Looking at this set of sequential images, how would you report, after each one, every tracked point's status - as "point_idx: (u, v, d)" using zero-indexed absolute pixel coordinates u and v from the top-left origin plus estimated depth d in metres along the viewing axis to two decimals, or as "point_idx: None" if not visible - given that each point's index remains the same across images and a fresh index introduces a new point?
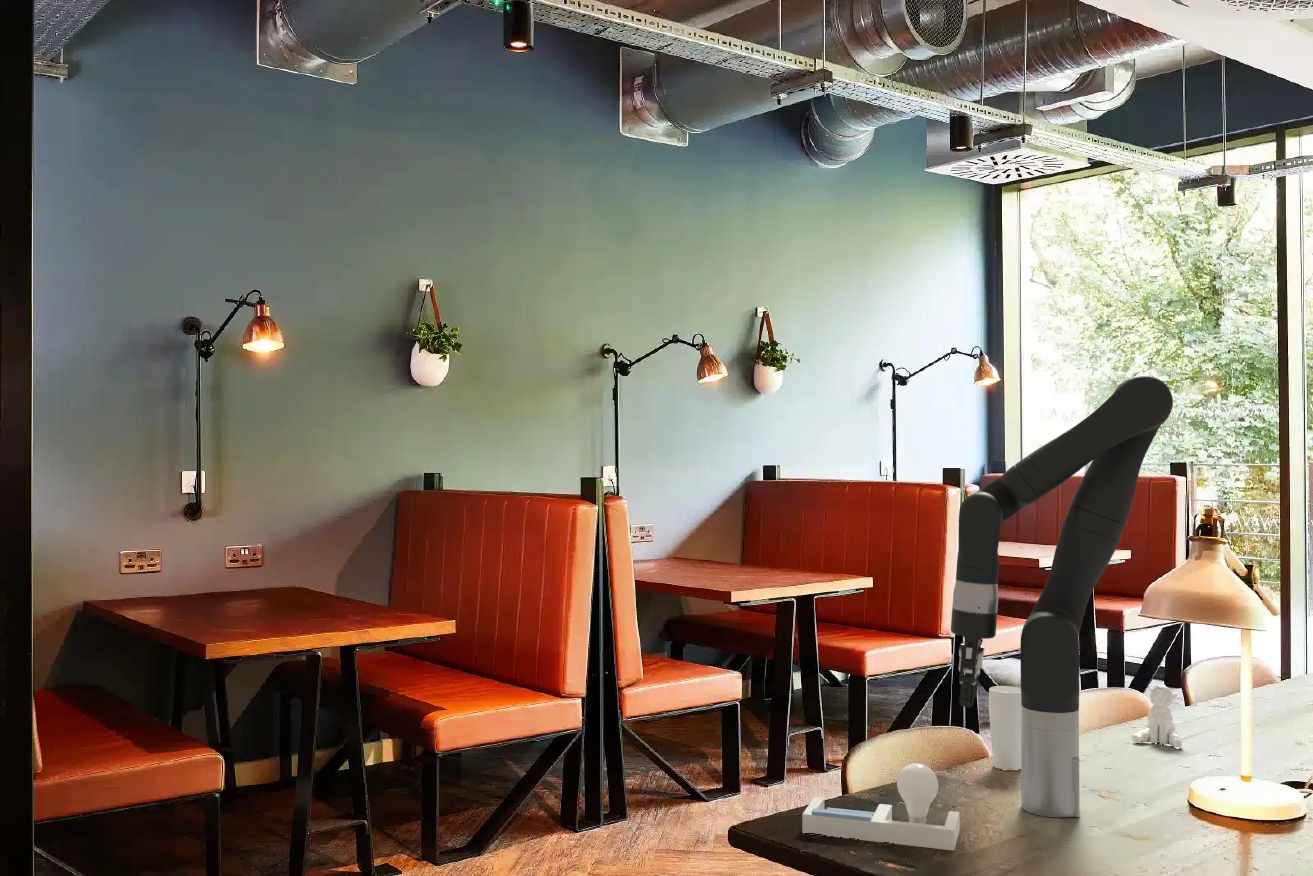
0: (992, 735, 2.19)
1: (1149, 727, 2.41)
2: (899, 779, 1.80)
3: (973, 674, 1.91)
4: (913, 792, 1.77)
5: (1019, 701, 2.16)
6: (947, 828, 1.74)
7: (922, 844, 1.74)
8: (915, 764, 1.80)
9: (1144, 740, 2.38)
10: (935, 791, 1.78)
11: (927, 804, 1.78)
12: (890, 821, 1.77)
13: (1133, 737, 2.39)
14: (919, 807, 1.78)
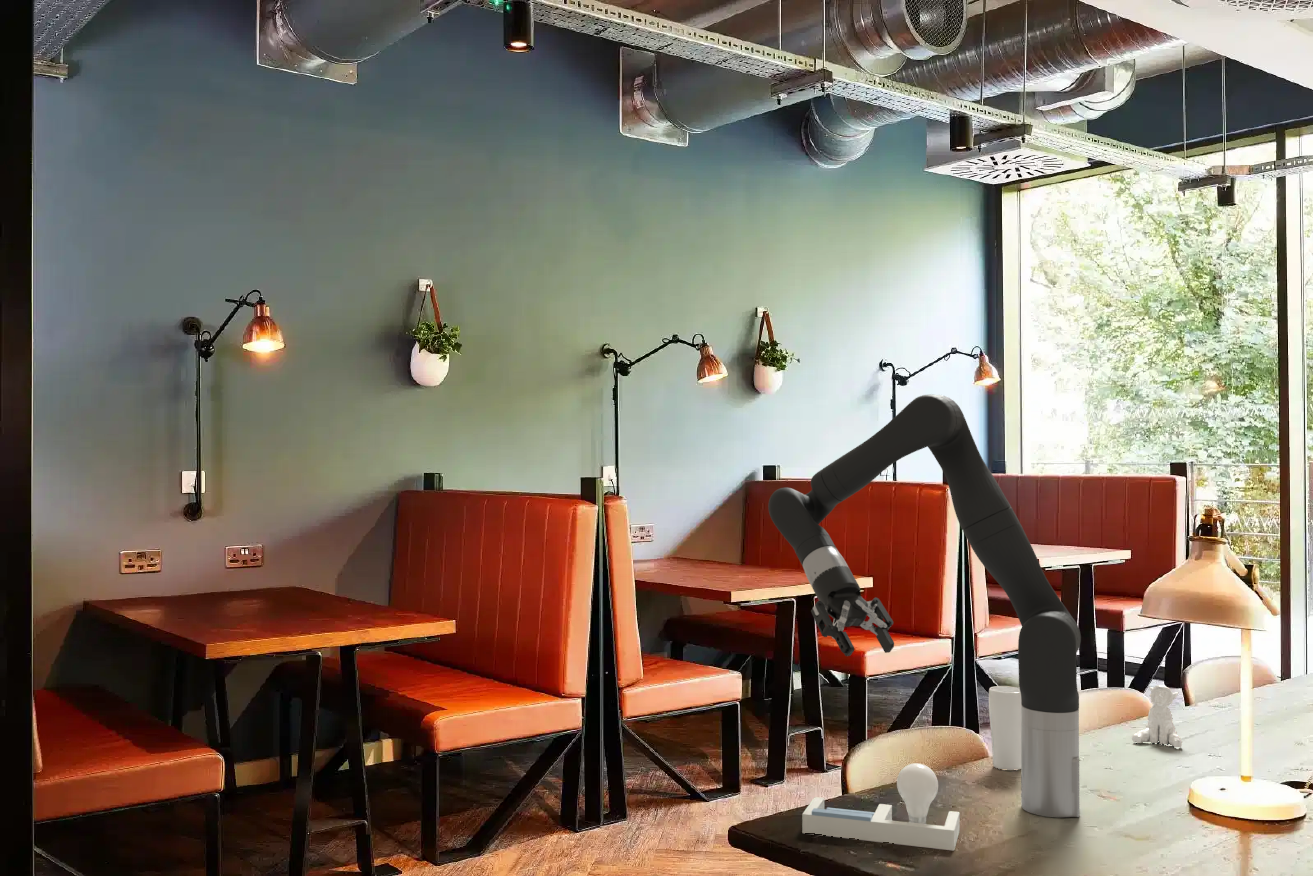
0: (992, 735, 2.19)
1: (1149, 727, 2.41)
2: (899, 779, 1.80)
3: (824, 622, 1.96)
4: (913, 792, 1.77)
5: (1019, 701, 2.16)
6: (947, 828, 1.74)
7: (922, 844, 1.74)
8: (915, 764, 1.80)
9: (1144, 740, 2.38)
10: (935, 791, 1.78)
11: (927, 804, 1.78)
12: (890, 821, 1.77)
13: (1133, 737, 2.39)
14: (919, 807, 1.78)
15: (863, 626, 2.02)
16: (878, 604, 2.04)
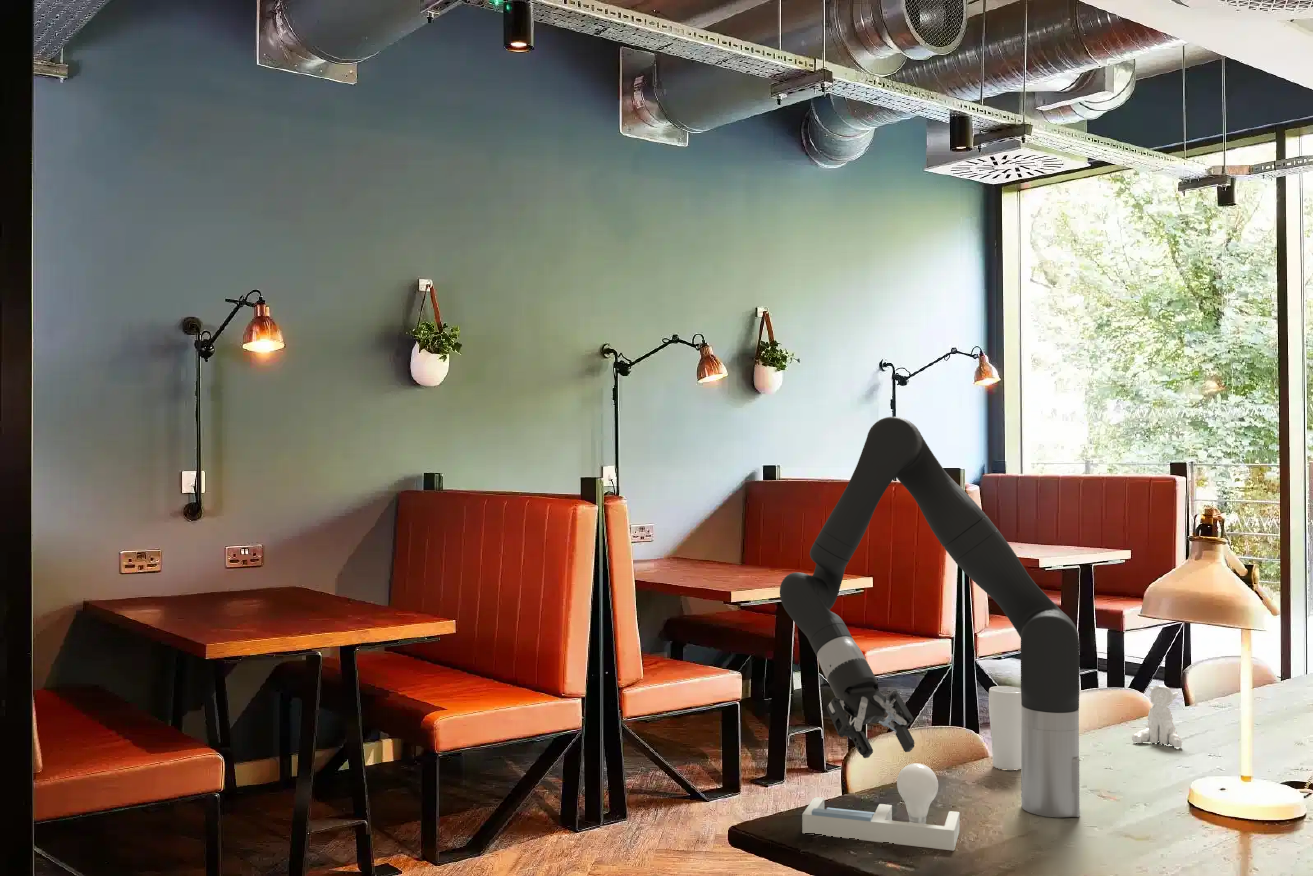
0: (992, 735, 2.19)
1: (1149, 727, 2.41)
2: (899, 779, 1.80)
3: (841, 721, 1.86)
4: (913, 792, 1.77)
5: (1019, 701, 2.16)
6: (947, 828, 1.74)
7: (922, 844, 1.74)
8: (915, 764, 1.80)
9: (1144, 740, 2.38)
10: (935, 791, 1.78)
11: (927, 804, 1.78)
12: (890, 821, 1.77)
13: (1133, 737, 2.39)
14: (919, 807, 1.78)
15: (881, 723, 1.92)
16: (897, 698, 1.94)
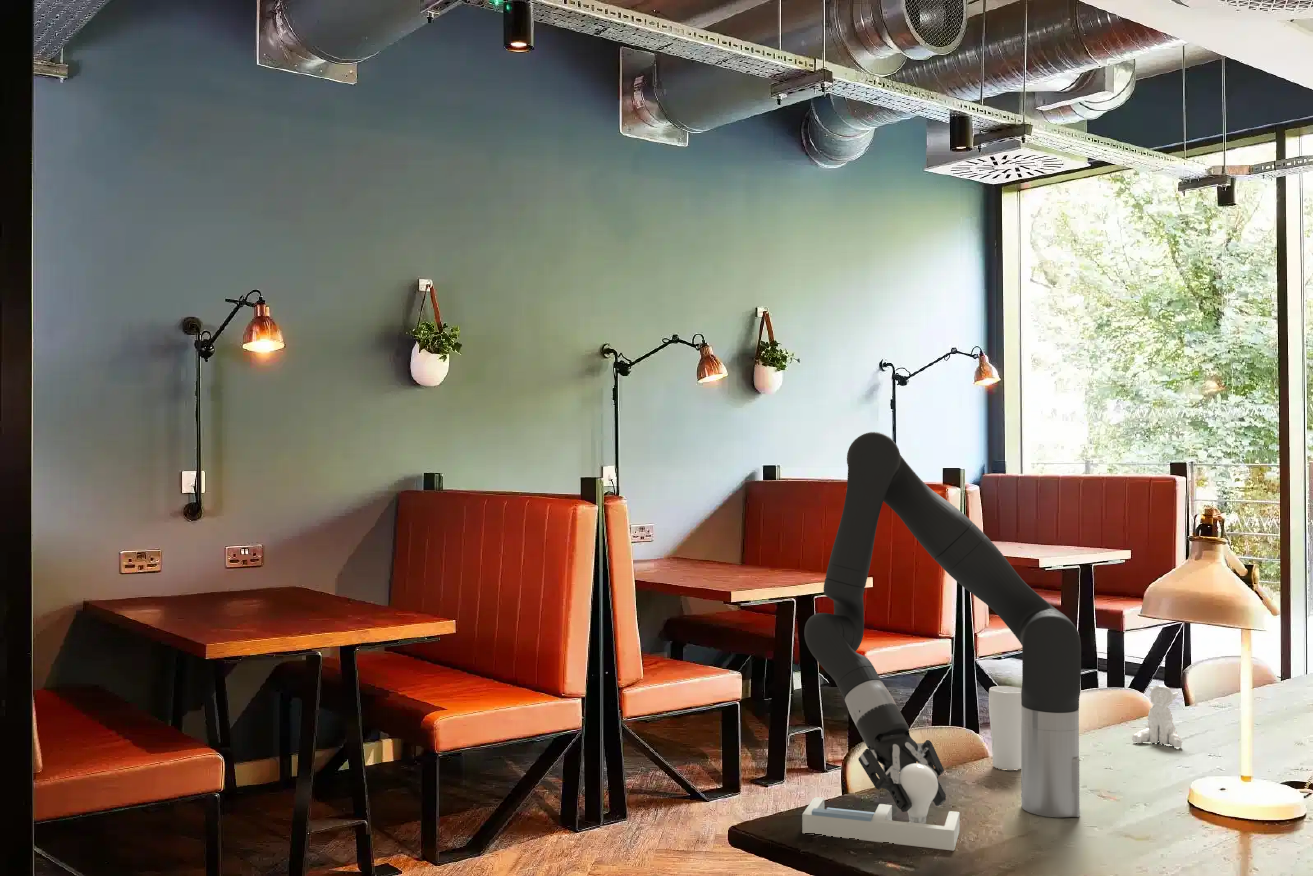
0: (992, 735, 2.19)
1: (1149, 727, 2.41)
2: (899, 779, 1.80)
3: (878, 774, 1.79)
4: (913, 792, 1.77)
5: (1019, 701, 2.16)
6: (947, 828, 1.74)
7: (922, 844, 1.74)
8: (915, 764, 1.80)
9: (1144, 740, 2.38)
10: (935, 791, 1.78)
11: (927, 804, 1.78)
12: (890, 821, 1.77)
13: (1133, 737, 2.39)
14: (919, 807, 1.78)
15: None
16: (929, 748, 1.86)
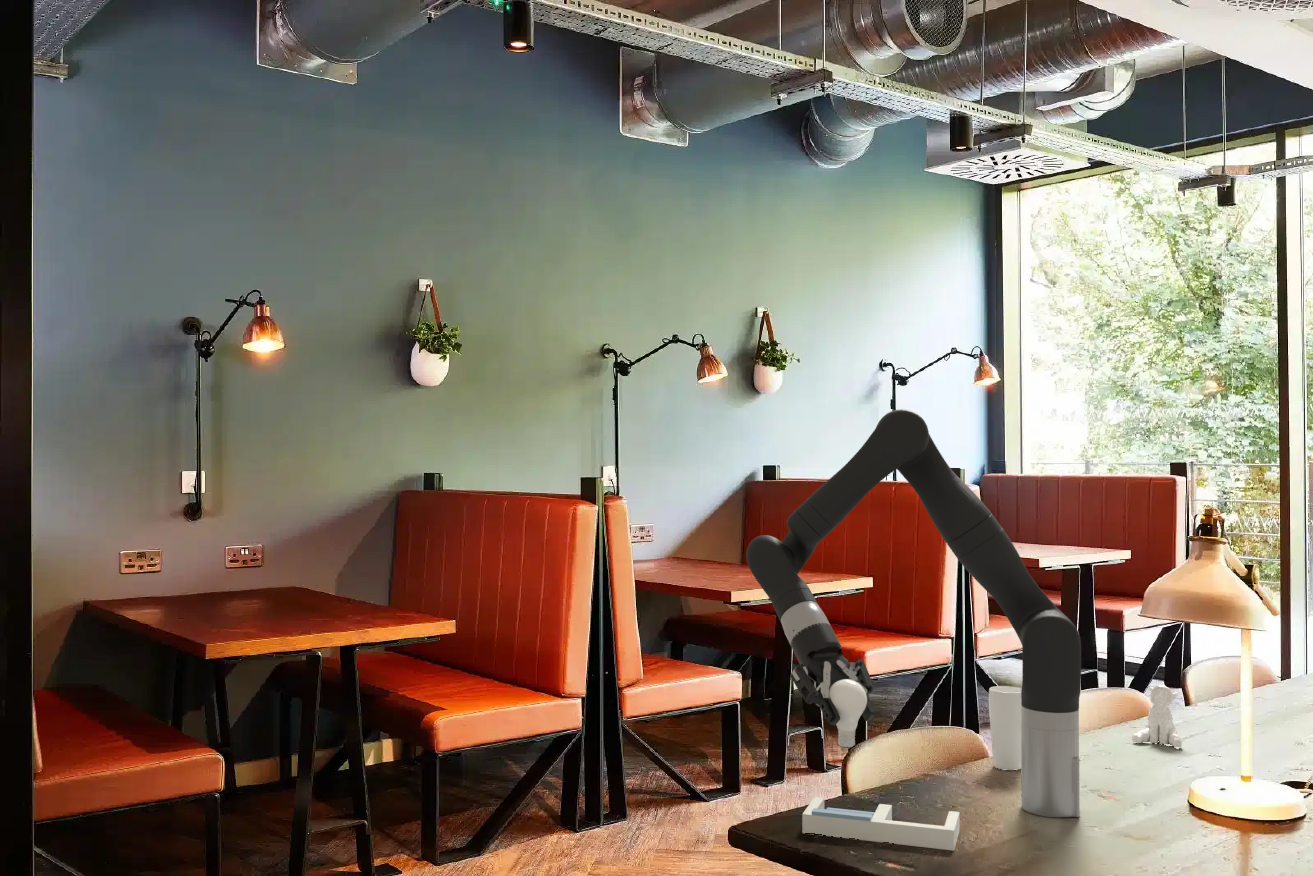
0: (992, 735, 2.19)
1: (1149, 727, 2.41)
2: (829, 694, 1.84)
3: (808, 688, 1.83)
4: (841, 706, 1.81)
5: (1019, 701, 2.16)
6: (947, 828, 1.74)
7: (922, 844, 1.74)
8: (845, 680, 1.84)
9: (1144, 740, 2.38)
10: (863, 705, 1.82)
11: (855, 718, 1.82)
12: (890, 821, 1.77)
13: (1133, 737, 2.39)
14: (848, 721, 1.82)
15: None
16: (861, 666, 1.90)
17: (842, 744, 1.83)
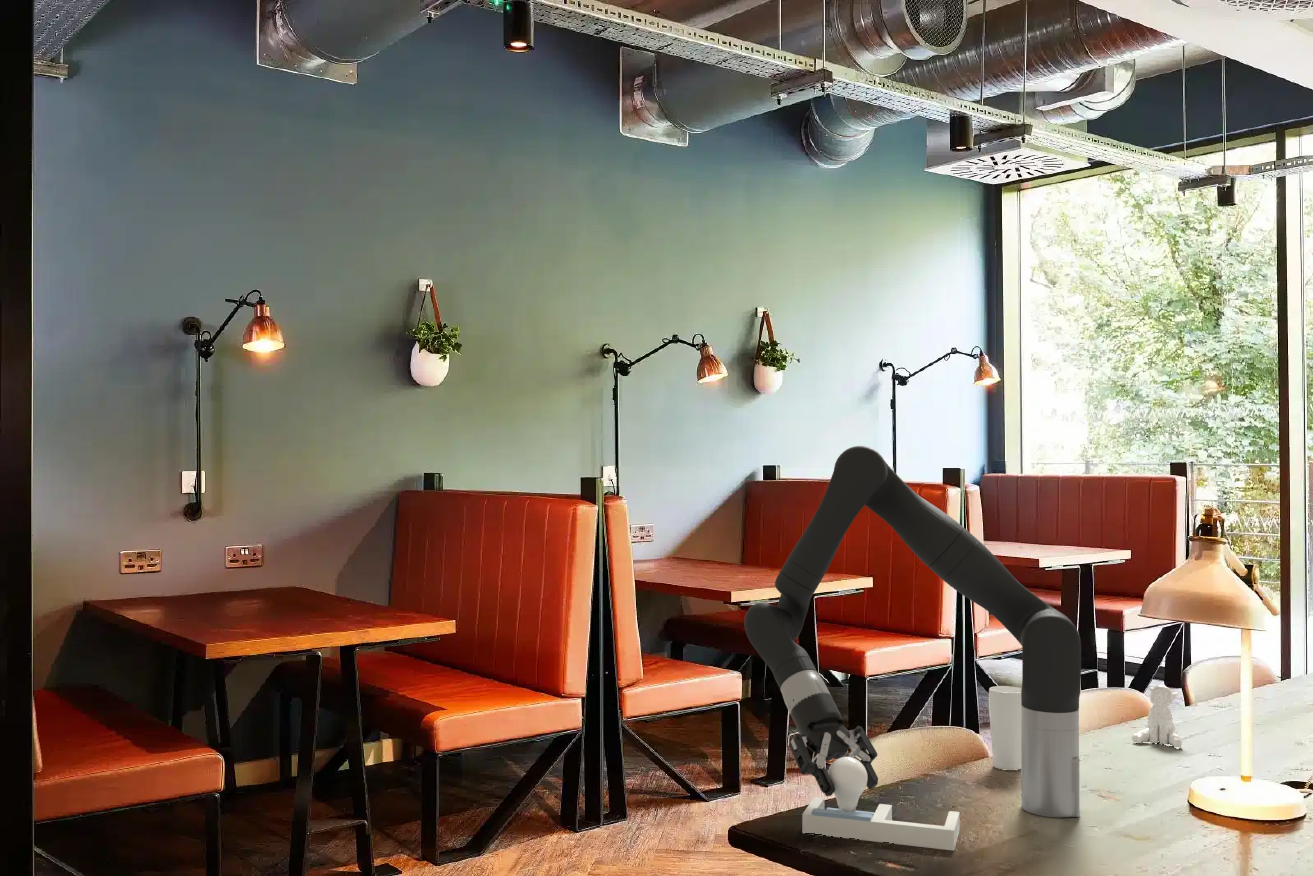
0: (992, 735, 2.19)
1: (1149, 727, 2.41)
2: (829, 772, 1.83)
3: (803, 758, 1.83)
4: (842, 785, 1.81)
5: (1019, 701, 2.16)
6: (947, 828, 1.74)
7: (922, 844, 1.74)
8: (845, 758, 1.84)
9: (1144, 740, 2.38)
10: (864, 784, 1.82)
11: (856, 797, 1.82)
12: (890, 821, 1.77)
13: (1133, 737, 2.39)
14: (848, 800, 1.82)
15: None
16: (861, 734, 1.90)
17: None
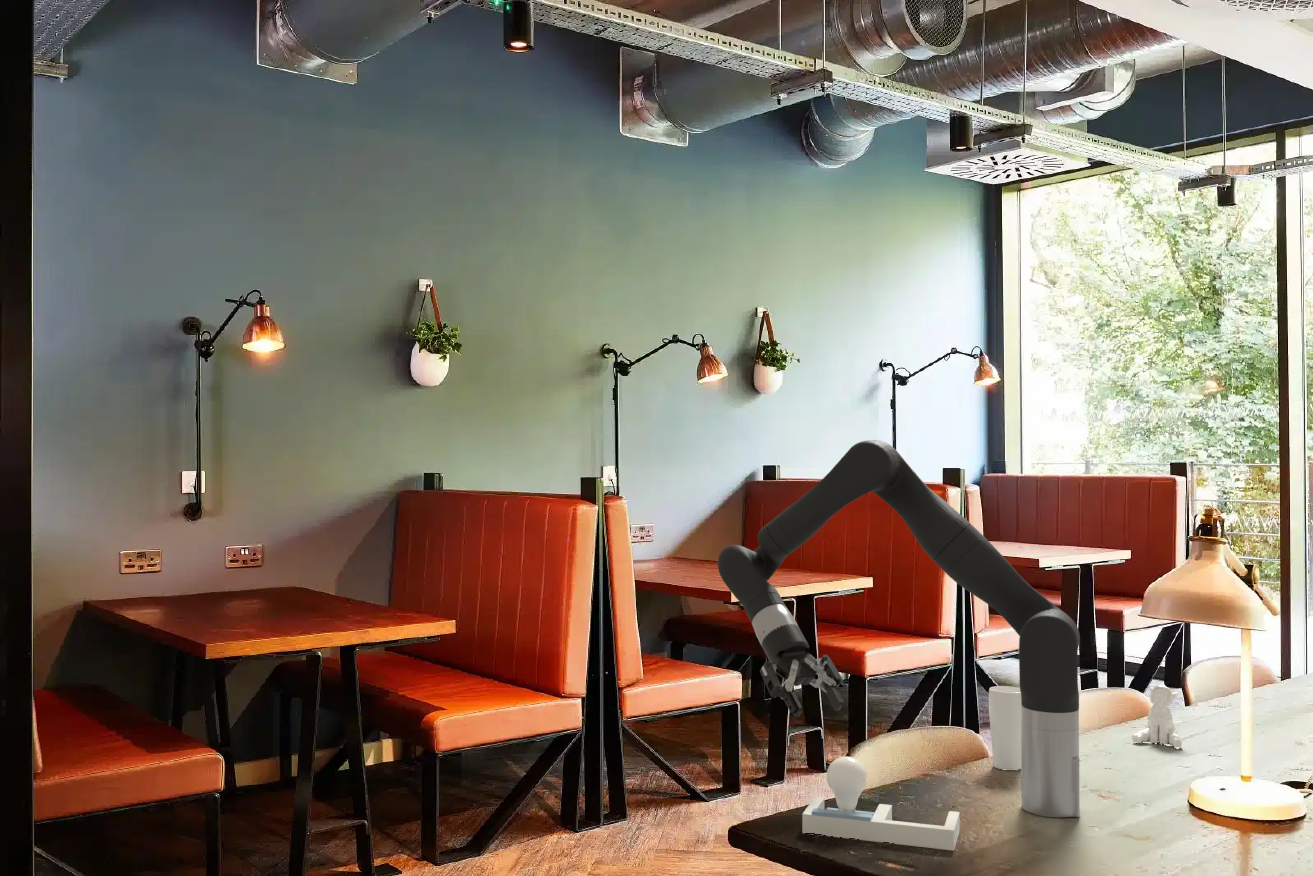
0: (992, 735, 2.19)
1: (1149, 727, 2.41)
2: (828, 772, 1.84)
3: (773, 682, 1.96)
4: (841, 784, 1.81)
5: (1019, 701, 2.16)
6: (947, 828, 1.74)
7: (922, 844, 1.74)
8: (844, 757, 1.84)
9: (1144, 740, 2.38)
10: (863, 783, 1.82)
11: (855, 796, 1.82)
12: (890, 821, 1.77)
13: (1133, 737, 2.39)
14: (848, 799, 1.82)
15: (813, 684, 2.02)
16: (827, 661, 2.04)
17: None
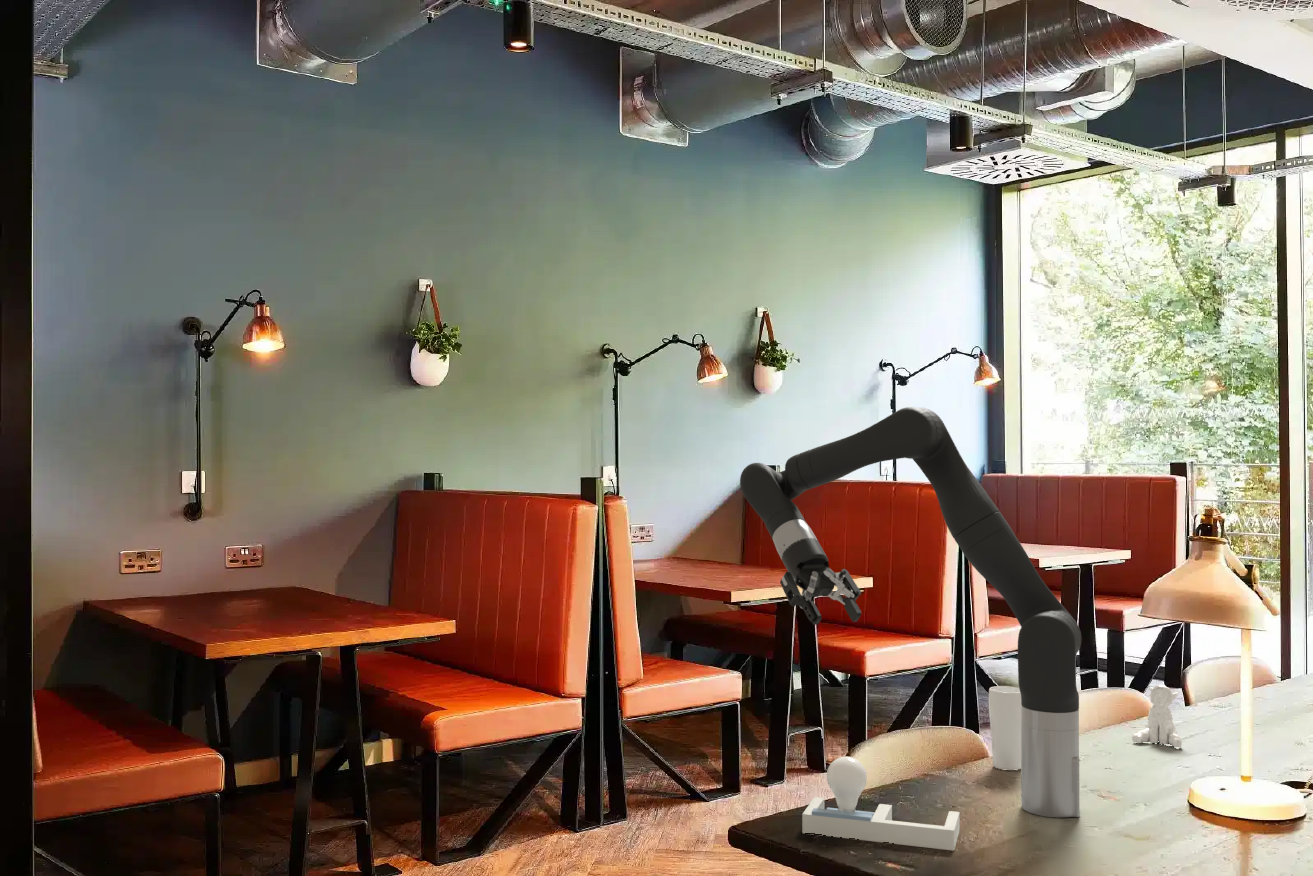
0: (992, 735, 2.19)
1: (1149, 727, 2.41)
2: (828, 772, 1.84)
3: (792, 591, 2.00)
4: (841, 784, 1.81)
5: (1019, 701, 2.16)
6: (947, 828, 1.74)
7: (922, 844, 1.74)
8: (844, 757, 1.84)
9: (1144, 740, 2.38)
10: (863, 783, 1.82)
11: (855, 796, 1.82)
12: (890, 821, 1.77)
13: (1133, 737, 2.39)
14: (848, 799, 1.82)
15: (831, 596, 2.07)
16: (846, 575, 2.08)
17: None
